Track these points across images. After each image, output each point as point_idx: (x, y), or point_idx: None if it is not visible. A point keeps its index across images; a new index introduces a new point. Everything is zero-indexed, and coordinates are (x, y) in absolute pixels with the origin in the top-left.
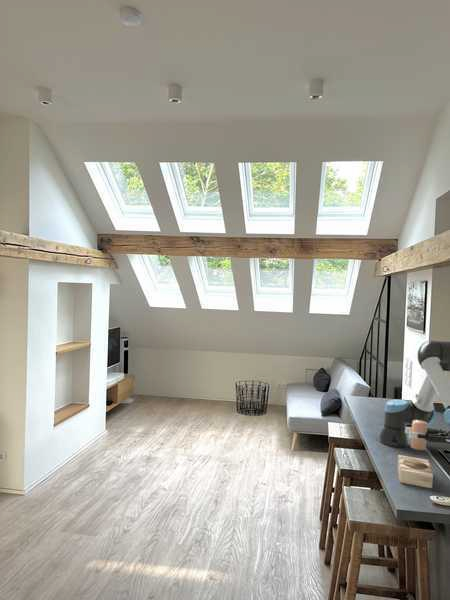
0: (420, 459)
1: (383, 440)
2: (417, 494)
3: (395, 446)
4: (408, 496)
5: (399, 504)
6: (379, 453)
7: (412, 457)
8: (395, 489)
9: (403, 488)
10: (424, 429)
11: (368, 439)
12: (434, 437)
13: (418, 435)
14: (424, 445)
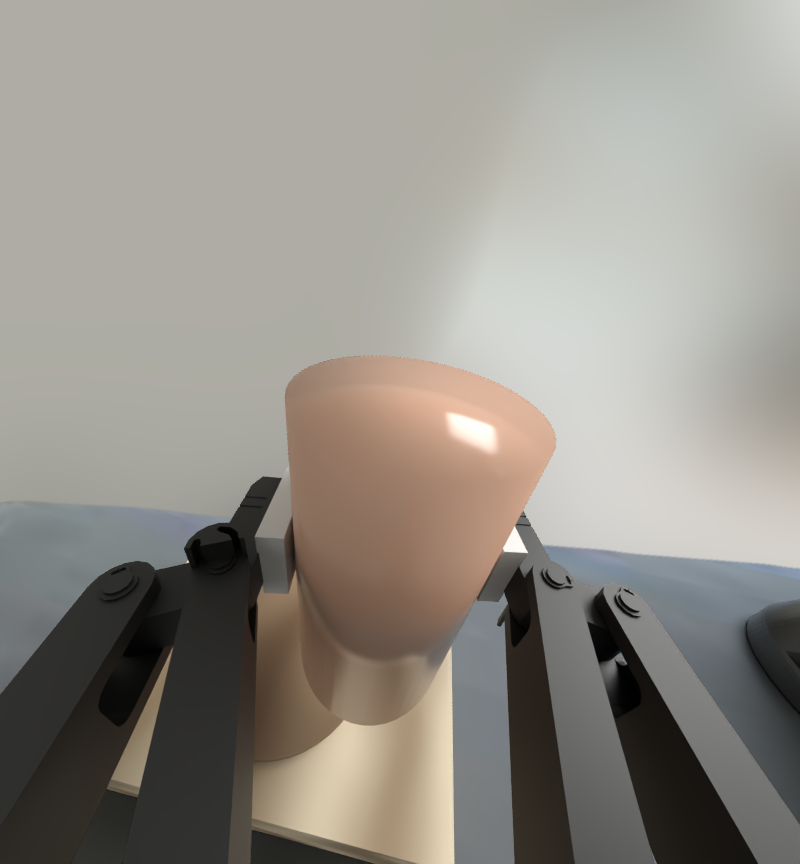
0: (430, 748)
1: (759, 615)
2: (51, 614)
3: (787, 695)
4: (61, 560)
5: (19, 506)
6: (568, 569)
7: (448, 672)
8: (159, 529)
9: (155, 564)
10: (291, 495)
11: (721, 566)
12: (9, 713)
13: (261, 482)
14: (308, 660)
